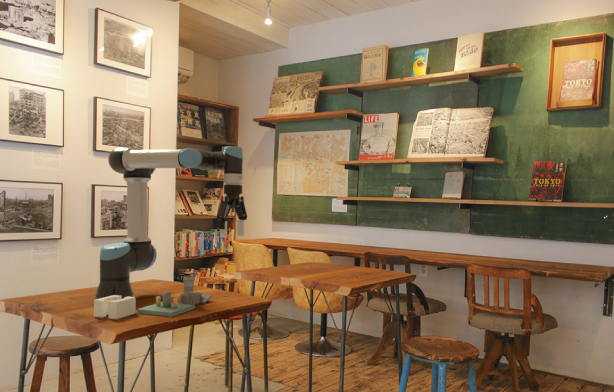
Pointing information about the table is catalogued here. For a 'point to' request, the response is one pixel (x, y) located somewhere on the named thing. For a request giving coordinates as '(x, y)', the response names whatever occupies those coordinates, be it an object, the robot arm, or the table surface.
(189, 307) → the board
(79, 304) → the table surface
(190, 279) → the camera
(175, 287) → the table surface
